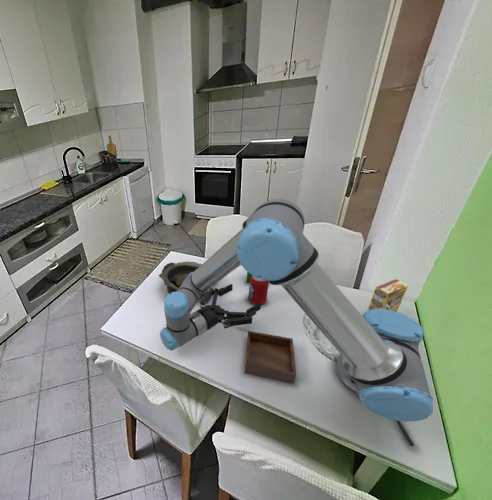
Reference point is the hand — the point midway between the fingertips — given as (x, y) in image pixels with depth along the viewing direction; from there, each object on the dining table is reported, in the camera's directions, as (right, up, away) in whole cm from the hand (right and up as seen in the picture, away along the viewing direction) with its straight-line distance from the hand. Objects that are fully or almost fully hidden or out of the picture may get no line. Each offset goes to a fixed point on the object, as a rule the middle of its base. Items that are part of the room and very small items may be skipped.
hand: (245, 295), depth 104 cm
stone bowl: (-18, 0, +19) cm, 26 cm away
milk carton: (+12, +4, +18) cm, 22 cm away
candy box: (+43, -7, -8) cm, 44 cm away
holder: (+2, -18, -16) cm, 24 cm away
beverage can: (+8, -3, +8) cm, 11 cm away
